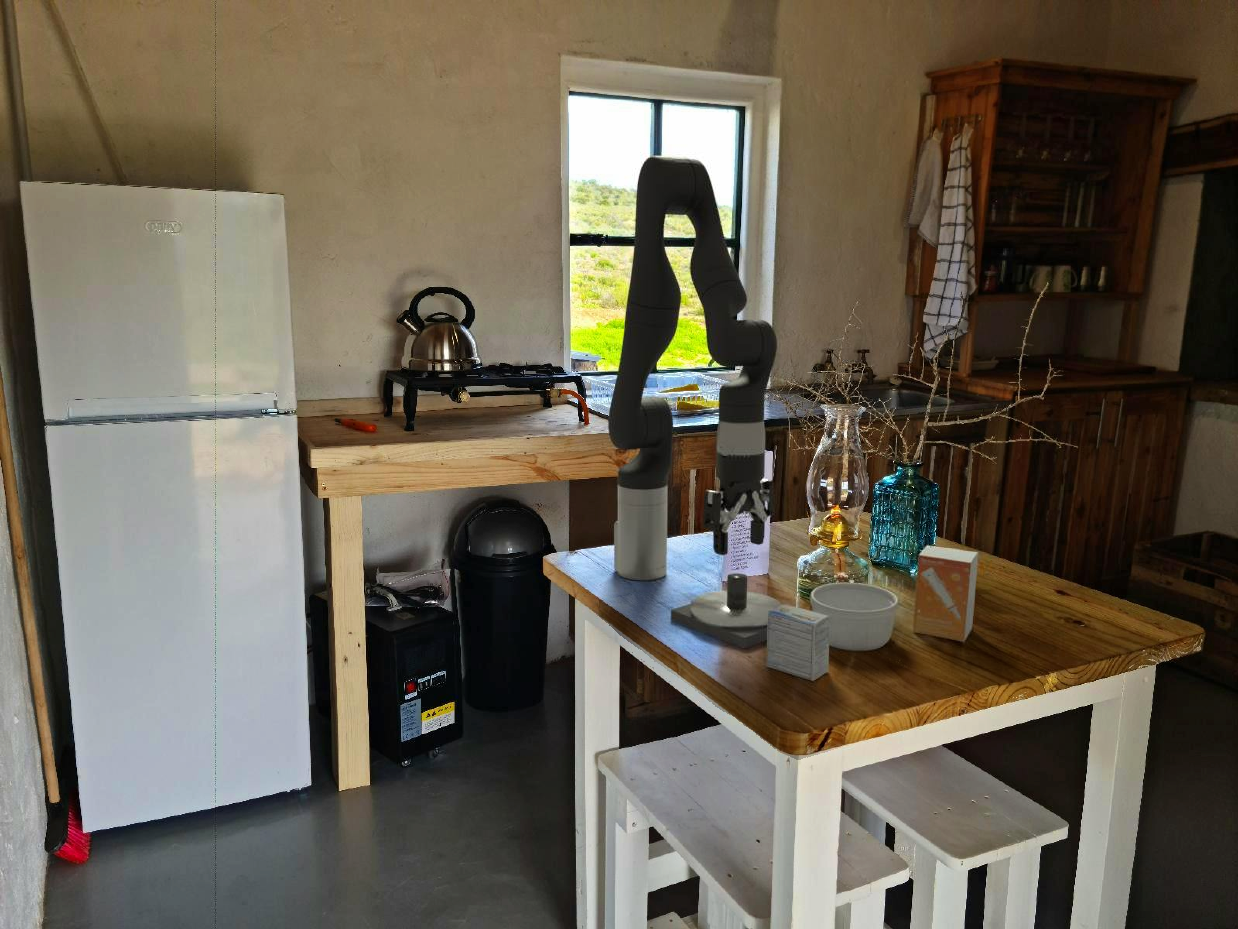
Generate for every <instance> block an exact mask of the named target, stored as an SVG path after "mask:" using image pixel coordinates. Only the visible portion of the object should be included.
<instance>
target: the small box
mask: <svg viewBox="0 0 1238 929" xmlns="http://www.w3.org/2000/svg"><path fill="white" fill-rule="evenodd" d="M978 562H979V552H978V551H969V550H963V549H958V548H951V547H942V546H941V547H940V546H934V545H926V546H925V547H924V548H923V549H922V551H921V552H920V553H919V554H918V558H917V570H916V583H915V595H914V596H915V597H914V607H913V623H912V633H915V634H916V633H917V634H921V635H922V634H923V635H928V636H931V637H932V636H934V637H938V638H943V639H946V640H951V641H952V640H953V641H956V642H957V641H958V642H962V643H965V641H966V640H967V638H968V636H969V634H970V633H971V630H972V628H973V622H974V621H973V619H974V611H975V610H974V608H975V598H976V585H977V573H978V564H979V563H978Z"/></svg>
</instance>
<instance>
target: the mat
mask: <svg viewBox="0 0 1238 929" xmlns="http://www.w3.org/2000/svg"><path fill="white" fill-rule="evenodd" d="M671 620H672V622H674V623H676V624H679V623H680V624H679V625H682V626H685V627H686V628H687V627H688V628H689V629H692V630H695V631H698V632H700V633H703V634H704V635H705V634H706V635H708V636H711V637H712V638H715V637H716V639H718V638H719V639H718V640H721V641H723V640H725V641H724V642H726V641H727V642H726V643H728V642H729V644H731V643H733V644H734V645H733V644H732V645H733V646H736V645H737V646H736V647H739V648H741V647H743V648H742V649H744V648H746V649H748V648H747V647H749V648H751V647H753V645H754V646H756V645H759V644H761V643H763V642H767V641H766V640H767V627H766V628H761V629H754V630H730V629H722V628H716V627H712V626H708V625H705V624H703V623H700V622H699V621H697V620H695V619H694V618H693V617H692V616H691V614H690V603H688V604H684V605H681V606H679V607H676V608H673V609H670V621H671ZM758 643H759V644H758Z"/></svg>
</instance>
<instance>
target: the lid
mask: <svg viewBox="0 0 1238 929" xmlns="http://www.w3.org/2000/svg"><path fill="white" fill-rule="evenodd" d="M726 577H727V578H726V579H727V580H726V581H727V582H726V584H727V585H726V590H719V591H717V590H716V591H711V592H706V593H703V594H700V595H698V596H696V597H694V598H693V599H692V600H690V603H689V604H690V614H691V616H692V617H693V618H694V619H695V620H697V621H699V622H700V623H703V624H705V625H708V626H712V627H716V628H722V629H730V630H754V629H761V628H766V627H767V626H768V612H769V611H771V610H773V609H774V608H776V607H779V606H781V605H783V604H782V603H781V602H780V601H779V600H778V599H776V598H773V597H771V596H769V595H766V594H763V593H757V592H753V591H748V575H747V574H743V573H739V572H736V573H735V572H734V573H729V574H727V576H726Z"/></svg>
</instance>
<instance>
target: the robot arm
mask: <svg viewBox="0 0 1238 929" xmlns="http://www.w3.org/2000/svg"><path fill="white" fill-rule="evenodd" d="M637 178H638V179H637V184H636V202H635V221H634V222H635V225H634V226H635V227H634V242H633V243H634V245H633V254H632V262H631V263H632V265H631V271H630V281H629V287H628V288H629V289H628V294H627V300H626V307H625V308H626V309H625V315H624V327H623V337H622V344H621V345H622V346H621V349H620V351H621V352H620V358H619V363H618V364H619V365H618V370H617V374H616V379H615V383H614V389H613V391H612V392H613V393H612V395H611V396H612V397H611V401H610V406H609V412H608V420H607V421H608V422H607V426H608V427H607V429H608V435H609V440H610V441H611V443H612V445H613V446H614V447H615V448H616V449H618V450H620V451H630V450H638V449H639V452H638V453H637V455H635V457H634V458H632V459H631V460H630V461H629V462H627V463H626V464H623V465H622V466H621V467H619V469H618V471H617V520H616V521H615V522H614V524H613V527H614V528H613V539H614V540H613V546H614V547H613V554H614V555H613V556H614V558H613V560H614V561H613V570H614V571H616V572H617V574H618V576H620V577H621V578H624V579H628V580H633V581H652V580H657V579H660V578H664V577H665V576H666V575H667V570H668V568H667V566H668V565H667V560H668V558H667V555H668V483H669V482H668V479H669V478H668V477H669V474H670V472H671V468H672V458H673V457H672V452H673V439H674V416H673V413H672V409H671V406H670V404H669V403H668V401H666V399H665V398H663V397H661V396H645V397H644V396H643V395H644V391H645V386H646V383H647V380H648V378H649V376H650V375H651V372H652V371H653V369H654V367H655V366H656V365H657V363H658V361H659V360H660V359H661V357H662V356H663V355H664V353H665V352H666V351H667V349H668V348H669V347H670V344H671V343H672V342H673V340H674V338H675V335H676V333H677V329H678V325H679V324H678V323H679V316H680V309H681V303H682V292H681V288H680V284H679V281H678V278H677V276H676V274H675V272H674V270H673V267H672V264H671V263H670V260H669V257H668V255H667V251H666V248H665V237H664V236H665V220H666V215H668V216H669V215H670V216H671V215H672V216H673V215H674V216H686V217H687V218H688V219H689V221H690V223H691V225H692V226H693V229H694V234H695V239H694V244H693V248H692V252H691V256H690V262H689V267H690V268H689V269H690V270H689V273H690V278H691V282H692V285H693V287H694V289H695V292H696V295H697V296H698V300H699V302H700V304H701V306H702V308H703V314H704V316H703V317H704V323H705V334H706V336H705V337H706V347H707V350H708V354H709V355H710V356H711V358H712V360H713V361H714V362H715V363H716V364H718V365H719V366H720V367H726V368H735V367H742V368H741V371H740V373H739V376H738V377H737V378H736V379H733V380H730V381H727V382H726V383H723V384H721V386H720V389H719V391H718V392H719V393H718V422H717V423H718V425H717V429H716V430H717V432H716V463H715V464H716V468H715V469H716V471H715V472H716V474H715V475H716V477H717V478H718V480H719V481H720V485H719V488H718V490H710V489H706V490H705V492H704V498H703V500H704V502H703V520H702V526H703V528H705V529H709V530H711V531H712V533H713V534H712V535H713V536H712V537H713V539H712V541H713V544H712V548H713V550H714V553H715V554H717V555H720V556H725V555H727V554H728V553H729V549H728V548H729V546H728V545H729V532H728V529H729V527H730V525H731V523H732V522H733V521H734V520H736V518H737V516H738V515H740V514H743V513H745V512H747V513H748V515H749V516H750V519H751V520H750V535H749V536H750V537H749V539H750V540H749V541H750V543H752V544H754V545H757V546H759V545H762V544H764V540H765V529H766V526H765V524H766V523H765V522H767V521H768V520H767V519H768V518H769V517H773V516H774V515H775V482H774V480H772V479H766V478H765V472H766V471H765V470H766V468H765V467H766V466H765V465H766V462H765V460H766V429H765V395H766V391H767V387H768V384H769V381H770V377H771V372H772V370H773V367H774V363H775V359H776V355H777V349H778V339H777V335H776V332H775V329H774V328H773V326H772V325H771V324H770V323H769V322H768V321H767V320H765V319H764V320H763V319H739V320H736V319H734V318H733V317H735V316H737V315H738V314H740V313H741V312H742V311H743V310H744V309H745V308H746V306H747V303H748V295H747V293H746V290H745V288H744V285H743V282H742V280H741V278H740V276H739V273H738V271H737V269H736V267H735V264H734V262H733V259H732V257H731V255H730V252H729V249H728V247H727V246H728V245H727V243H726V242H727V241H726V239H725V234H724V230H723V225H722V220H721V217H720V211H719V207H718V204H717V200H716V197H715V196H716V195H715V192H714V191H715V190H714V187H713V184H712V180H711V178H710V174H709V172H708V170H707V168H706V167H705V165H704V164H703V163H702V162H701V161H700V160H698V159H695V158H691V157H683V156H682V157H681V156H680V157H679V156H667V155H651V156H649V157H647V158H646V159H645V160H644V162H643V163H642V166H641V167H640V171H639V173H638V177H637ZM766 504H767V507H766ZM725 510H726V511H725ZM711 519H712V521H711ZM722 520H723V521H722ZM721 522H722V523H721Z"/></svg>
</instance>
